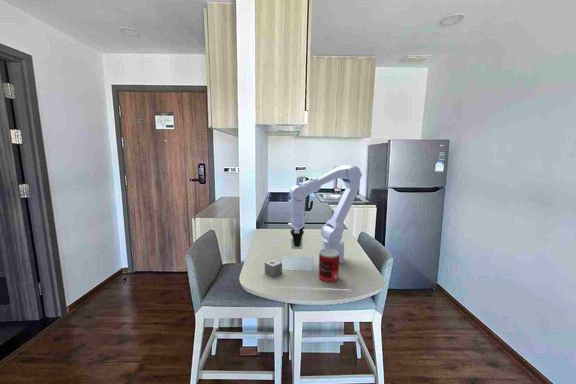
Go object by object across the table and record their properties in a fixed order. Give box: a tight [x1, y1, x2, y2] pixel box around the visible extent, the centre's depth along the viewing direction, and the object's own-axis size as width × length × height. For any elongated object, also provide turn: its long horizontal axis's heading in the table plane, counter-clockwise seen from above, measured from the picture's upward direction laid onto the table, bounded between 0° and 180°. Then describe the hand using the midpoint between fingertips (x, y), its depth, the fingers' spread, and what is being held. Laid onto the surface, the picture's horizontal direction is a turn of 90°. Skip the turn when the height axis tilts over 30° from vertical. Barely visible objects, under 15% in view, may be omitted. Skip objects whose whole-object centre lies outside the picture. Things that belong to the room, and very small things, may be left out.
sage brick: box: [291, 236, 303, 250], centre depth 118 cm, size 4×4×4 cm
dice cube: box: [264, 258, 283, 278], centre depth 110 cm, size 5×5×5 cm
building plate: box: [281, 255, 314, 272], centre depth 119 cm, size 14×14×1 cm
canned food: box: [318, 248, 340, 283], centre depth 106 cm, size 8×8×11 cm
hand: (297, 244), depth 118 cm, fingers closed on sage brick, 4 cm apart
